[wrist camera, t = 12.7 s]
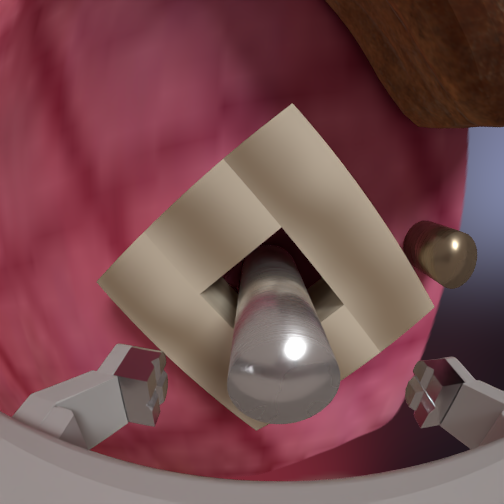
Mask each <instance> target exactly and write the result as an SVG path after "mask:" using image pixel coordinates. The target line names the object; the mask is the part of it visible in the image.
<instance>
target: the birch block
mask: <svg viewBox="0 0 504 504" xmlns="http://www.w3.org/2000/svg"><path fill="white" fill-rule="evenodd" d="M281 227H282V228H283V229H284V231H285V232H286V233H287V234H288V235H289V237H290V238H291V239H292V240H293V242H294V243H295V244H296V245H297V246H298V248H299V249H300V250H301V251H302V253H303V254H304V255H305V256H306V257H307V259H308V260H309V261H310V262H311V264H312V265H313V266H314V267H315V269H316V270H317V271H318V272H319V274H320V275H321V276H322V278H321V279H319V280H318V281H317V282H316V283H314V284H313V285H312V286H310V287H309V288H308V289H307V292H308V294H309V296H310V299H311V301H312V303H313V306H314V308H315V310H316V313H317V315H318V317H319V320H320V322H321V325H322V327H323V329H324V332H325V334H326V337H327V339H328V341H329V344H330V346H331V349H332V351H333V354H334V356H335V358H336V361H337V363H338V366H339V369H340V381H341V380H342V379H344V378H345V377H347V376H348V375H350V374H351V373H352V372H354V371H355V370H357V369H358V368H359V367H361V366H362V365H364V364H365V363H366V362H368V361H369V360H370V359H372V358H373V357H375V356H376V355H377V354H378V353H380V352H381V351H382V350H384V349H385V348H386V347H388V346H389V345H390V344H391V343H393V342H394V341H395V340H396V339H398V338H399V337H400V336H401V335H403V334H404V333H405V332H406V331H407V330H409V329H410V328H411V327H412V326H413V325H415V324H416V323H417V322H418V321H419V320H420V319H422V318H423V317H424V316H425V315H426V314H427V313H428V312H430V311H431V310H432V309H433V308H434V305H433V303H432V301H431V300H430V298H429V296H428V294H427V292H426V290H425V289H424V287H423V285H422V283H421V281H420V280H419V278H418V276H417V274H416V273H415V271H414V269H413V267H412V266H411V264H410V262H409V261H408V259H407V257H406V256H405V254H404V252H403V251H402V249H401V248H400V246H399V244H398V243H397V241H396V240H395V238H394V236H393V235H392V233H391V232H390V230H389V229H388V227H387V226H386V224H385V223H384V221H383V220H382V218H381V217H380V215H379V214H378V212H377V211H376V209H375V208H374V206H373V205H372V203H371V202H370V201H369V199H368V198H367V196H366V195H365V193H364V192H363V191H362V189H361V188H360V186H359V185H358V184H357V182H356V181H355V180H354V178H353V177H352V176H351V174H350V173H349V172H348V170H347V169H346V168H345V166H344V165H343V164H342V162H341V161H340V160H339V158H338V157H337V156H336V155H335V153H334V152H333V151H332V150H331V148H330V147H329V146H328V145H327V143H326V142H325V141H324V140H323V138H322V137H321V136H320V135H319V134H318V132H317V131H316V130H315V129H314V128H313V126H312V125H311V124H310V123H309V122H308V120H307V119H306V118H305V117H304V116H303V115H302V114H301V112H300V111H299V110H298V109H297V108H296V107H295V106H294V104H293V103H292V104H291V105H290V106H288V107H287V108H286V109H284V110H283V111H282V112H280V113H279V114H278V115H276V116H275V117H274V118H273V119H271V120H270V121H269V122H268V123H266V124H265V125H264V126H262V127H261V128H260V129H259V130H257V131H256V132H255V133H254V134H252V135H251V136H250V137H249V138H248V139H246V140H245V141H244V142H243V143H241V144H240V145H239V146H238V147H237V148H235V149H234V150H233V151H232V152H231V153H230V154H228V155H227V156H226V157H225V158H224V159H222V160H221V161H220V162H219V163H218V164H217V165H216V166H214V167H213V168H212V169H211V170H210V171H209V172H208V173H206V174H205V175H204V176H203V177H202V178H201V179H200V180H199V181H197V182H196V183H195V184H194V185H193V186H192V187H191V188H190V189H189V190H187V191H186V192H185V193H184V194H183V195H182V196H181V197H180V198H179V199H178V200H177V201H176V202H175V203H173V204H172V205H171V206H170V207H169V208H168V209H167V210H166V211H165V212H164V213H163V214H162V215H161V216H160V217H159V218H158V219H157V220H156V221H155V222H154V223H153V224H152V225H151V226H150V227H149V228H148V229H147V230H146V231H144V232H143V233H142V234H141V235H140V236H139V237H138V239H137V240H136V241H135V242H134V243H133V244H132V245H131V246H130V247H129V248H128V249H127V250H126V251H125V252H124V253H123V254H122V255H121V256H120V257H119V258H118V259H117V260H116V261H115V262H114V263H113V264H112V265H111V267H110V268H109V269H108V270H107V271H106V272H105V273H104V274H103V275H102V276H101V277H100V278H99V280H98V281H97V283H98V284H99V285H100V287H101V288H102V289H103V290H104V291H105V292H106V293H107V295H108V296H109V297H110V298H111V299H112V300H113V301H114V302H115V303H116V305H117V306H118V307H119V308H120V309H121V310H122V311H123V312H124V313H125V314H126V315H127V316H128V317H129V319H130V320H131V321H132V322H133V323H134V324H135V325H136V326H137V327H138V328H139V329H140V330H141V331H142V332H143V333H144V334H145V335H146V336H147V337H148V338H149V339H150V340H151V341H152V342H153V343H154V344H155V345H156V346H157V347H158V348H159V349H160V350H161V351H164V353H165V354H166V355H167V356H168V357H169V358H170V359H171V360H172V361H173V362H174V363H175V364H176V365H177V366H178V367H179V368H181V369H182V370H183V371H184V372H185V373H186V374H187V375H188V376H190V377H191V378H192V379H193V380H194V381H195V382H196V383H198V384H199V385H200V386H201V387H202V388H203V389H204V390H206V391H207V392H208V393H209V394H210V395H212V396H213V397H214V398H215V399H216V400H218V401H219V402H220V403H221V404H223V405H224V406H225V407H226V408H228V409H229V410H230V411H231V412H233V413H234V414H235V415H236V416H238V417H239V418H240V419H242V420H243V421H244V422H246V423H247V424H248V425H250V426H251V427H252V428H254V429H255V430H258V429H260V428H262V427H264V426H266V425H268V424H270V423H264V422H260V421H257V420H255V419H252V418H250V417H248V416H246V415H245V414H243V413H242V412H241V411H240V410H238V409H237V408H236V406H235V405H234V404H233V403H232V401H231V399H230V397H229V394H228V390H227V378H228V371H229V363H230V356H231V348H232V341H233V333H234V326H235V318H236V311H237V303H238V296H239V295H238V294H237V292H236V291H235V290H234V289H233V288H232V287H231V286H230V285H229V284H228V283H227V282H226V281H225V279H224V278H223V277H222V276H223V275H224V274H225V273H226V272H228V271H229V270H230V269H231V268H232V267H234V266H235V265H236V264H237V263H238V262H240V261H241V260H242V259H243V258H245V257H246V256H247V255H248V254H249V253H251V252H252V251H253V250H254V249H256V248H257V247H258V246H259V245H260V244H262V243H263V242H264V241H265V240H267V239H268V238H269V237H270V236H271V235H273V234H274V233H275V232H276V231H278V230H279V229H280V228H281Z"/></svg>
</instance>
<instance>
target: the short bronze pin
mask: <svg viewBox="0 0 504 504" xmlns="http://www.w3.org/2000/svg"><path fill="white" fill-rule="evenodd" d="M404 254H405V256H406V257H407V259H408V261H409V262H410V264H411V265H412V266H414V267H415V268H417V269H418V270H420V271H421V272H423V273H424V274H426V275H427V276H429V277H430V278H432V279H433V280H435V281H436V282H438V283H439V284H441V285H442V286H444V287H446V288H450V289H453V288H457V287H460V286H461V285H463V284H464V283H465V282H466V281H467V280H468V279H469V278H470V276H471V275H472V273H473V271H474V268H475V265H476V261H477V249H476V245H475V243H474V241H473V239H472V238H471V237H470V236H469V235H468V234H466V233H463V232H460V231H458V230H455V229H452V228H449V227H446V226H443V225H440V224H437V223H434V222H431V221H420V222H418V223H416V224H414V225H413V226H412V227H411V228H410V230H409V231H408V233H407V235H406V237H405V241H404Z"/></svg>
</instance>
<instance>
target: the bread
mask: <svg viewBox="0 0 504 504" xmlns="http://www.w3.org/2000/svg"><path fill="white" fill-rule="evenodd" d="M325 1H326V2H327V3H328V4H329V5H330V7H331V8H332V9H333V10H334V11H335V12H336V14H337V15H338V16H339V17H340V19H341V20H342V21H343V23H344V24H345V25H346V26H347V28H348V29H349V31H350V32H351V33H352V35H353V36H354V38H355V39H356V41H357V42H358V44H359V45H360V47H361V49H362V50H363V52H364V54H365V55H366V57H367V59H368V60H369V62H370V64H371V66H372V67H373V69H374V71H375V73H376V75H377V76H378V78H379V80H380V81H381V83H382V84H383V86H384V87H385V89H386V90H387V92H388V93H389V95H390V96H391V98H392V99H393V100H394V102H395V103H396V104H397V106H398V107H399V108H400V110H401V111H402V112H403V114H404V115H405V116H407V117H408V118H409V119H410V120H411V121H412V122H414V123H415V124H416V125H417V126H418V127H427V128H469V127H479V126H481V127H483V126H484V127H504V0H325Z"/></svg>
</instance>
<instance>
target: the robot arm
mask: <svg viewBox="0 0 504 504" xmlns="http://www.w3.org/2000/svg"><path fill="white" fill-rule="evenodd" d="M165 365H166V356H165V353H164V351H158V350H152V349H147V348H141V347H136V346H131V345H125V344H116V346H115V347H114V348H113V350H112V351H111V352H110V354H109V355H108V356H107V358H106V359H105V360H104V362H103V363H102V365H101V366H100V367H99V369H98V370H97V371H93V370H92V371H90V372H87V373H85V374H82V375H80V376H77V377H75V378H72V379H69V380H67V381H64V382H62V383H59V384H56V385H54V386H51V387H49V388H46V389H43V390H41V391H38V392H35V393H32V394H31V395H30V396H29V397H28V398H27V399H26V401H25V402H24V403H23V404H22V405H21V407H20V408H19V409H18V410H17V411H16V413H15V414H14V415H13V416H12V417H10V416H8V415H6V414H5V413H3V412H1V411H0V504H504V392H503V391H501V390H499V389H497V388H495V387H493V386H490V385H488V384H486V383H484V382H481V381H479V380H478V381H476V380H475V379H474V378H473V377H472V376H471V374H470V373H469V372H468V371H467V370H466V369H465V368H464V366H463V365H462V364H461V363H460V362H459V361H458V360H457V359H456V358H454V357H448V358H441V359H434V360H424V361H418V362H417V364H416V365H415V367H414V370H413V373H414V377H413V378H412V379H411V380H410V381H409V382H408V385H407V387H406V393H405V398H406V402H407V404H408V406H409V407H411V408H412V409H413V410H415V413H414V417H415V419H416V420H417V422H418V424H419V426H420V428H424V427H430V426H436V425H440V426H441V427H442V428H444V429H445V430H446V431H448V432H449V433H450V434H452V435H453V436H454V437H456V438H457V439H458V440H460V441H461V442H462V443H464V444H465V445H466V446H468V447H469V448H470V449H471V450H468V451H465V452H463V453H459V454H456V455H453V456H450V457H447V458H444V459H440V460H436V461H433V462H429V463H425V464H421V465H417V466H413V467H408V468H404V469H399V470H394V471H389V472H383V473H378V474H371V475H365V476H357V477H349V478H340V479H328V480H312V481H250V480H233V479H223V478H213V477H205V476H197V475H190V474H184V473H178V472H172V471H167V470H162V469H157V468H152V467H147V466H143V465H139V464H135V463H131V462H127V461H123V460H120V459H116V458H113V457H109V456H106V455H103V454H99V453H96V452H93V451H90V449H91V448H93V447H94V446H96V445H97V444H99V443H100V442H102V441H103V440H105V439H106V438H108V437H109V436H110V435H112V434H113V433H115V432H116V431H118V430H119V429H120V428H122V427H123V426H125V425H126V424H127V423H128V422H133V423H138V424H143V425H148V426H154V427H155V425H156V422H157V420H158V417H159V414H160V406H159V405H160V404H162V403H163V402H164V401H165V398H166V394H167V388H168V377H167V373H166V372H165V371H164V370H163V369H164V367H165Z"/></svg>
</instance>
